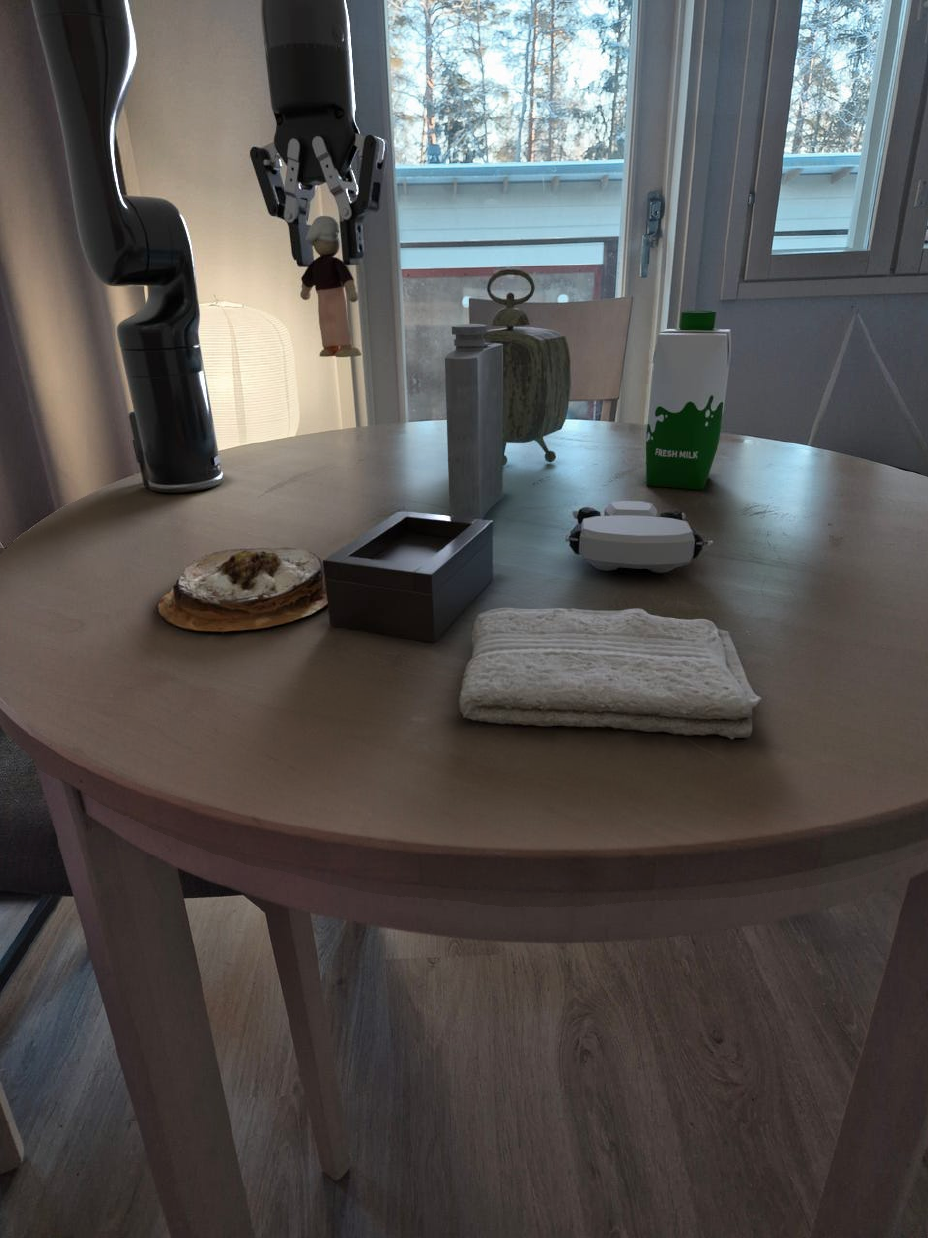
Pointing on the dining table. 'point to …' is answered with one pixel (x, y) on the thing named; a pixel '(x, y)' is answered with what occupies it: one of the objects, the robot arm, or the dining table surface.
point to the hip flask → (474, 422)
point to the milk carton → (687, 401)
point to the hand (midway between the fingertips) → (328, 264)
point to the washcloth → (606, 672)
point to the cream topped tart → (246, 590)
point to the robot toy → (634, 537)
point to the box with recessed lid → (409, 575)
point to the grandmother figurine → (330, 288)
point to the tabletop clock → (530, 372)
